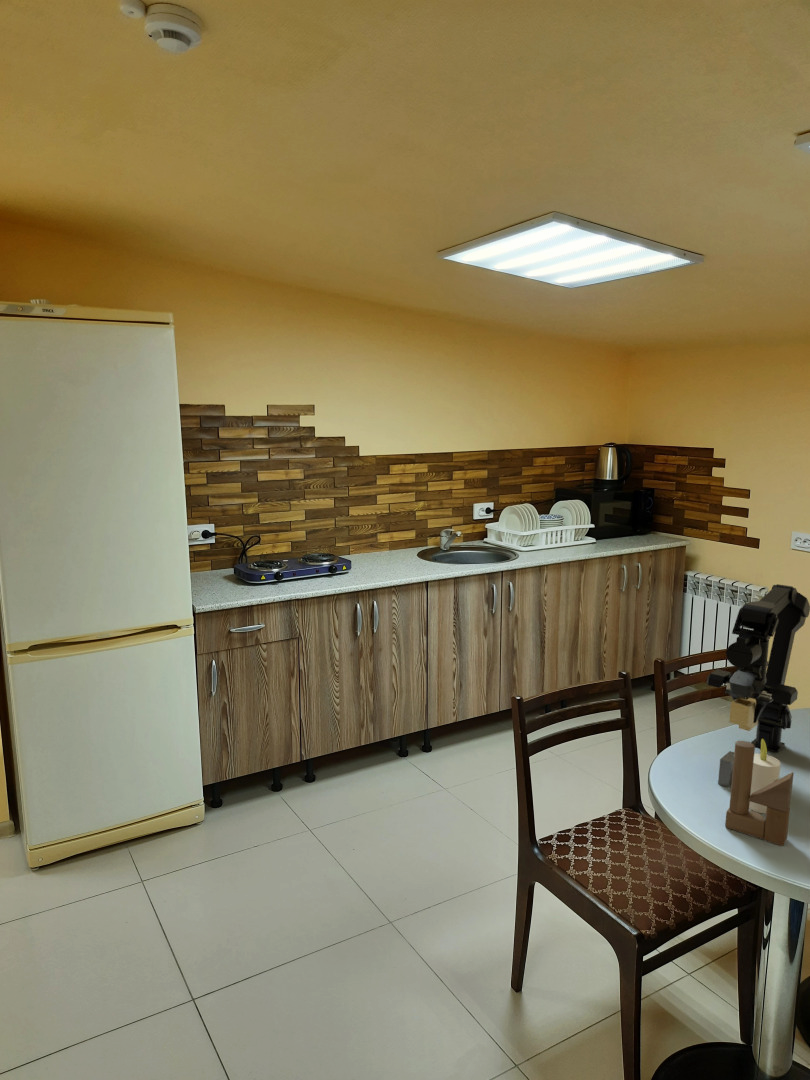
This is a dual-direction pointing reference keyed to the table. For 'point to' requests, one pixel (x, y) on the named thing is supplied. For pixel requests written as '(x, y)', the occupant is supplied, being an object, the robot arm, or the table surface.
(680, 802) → the table surface
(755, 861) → the table surface
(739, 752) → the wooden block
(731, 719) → the square hoop paddle
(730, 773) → the block with metal peg
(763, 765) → the candle
